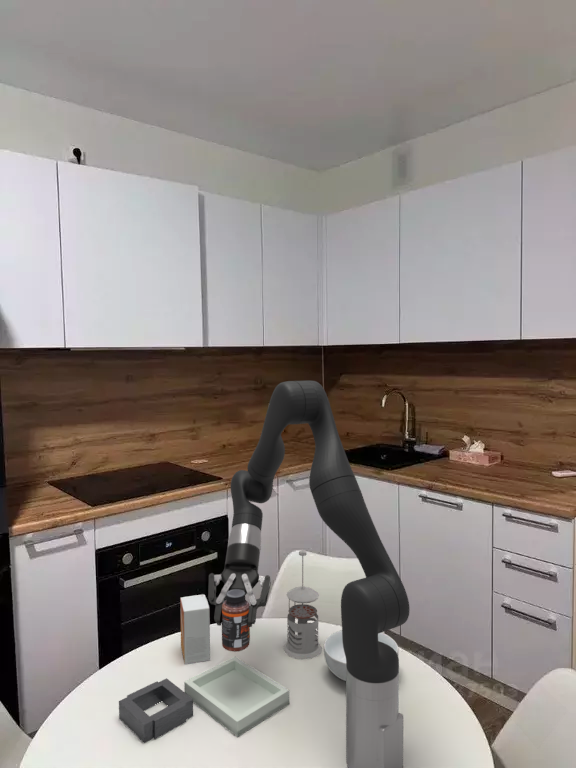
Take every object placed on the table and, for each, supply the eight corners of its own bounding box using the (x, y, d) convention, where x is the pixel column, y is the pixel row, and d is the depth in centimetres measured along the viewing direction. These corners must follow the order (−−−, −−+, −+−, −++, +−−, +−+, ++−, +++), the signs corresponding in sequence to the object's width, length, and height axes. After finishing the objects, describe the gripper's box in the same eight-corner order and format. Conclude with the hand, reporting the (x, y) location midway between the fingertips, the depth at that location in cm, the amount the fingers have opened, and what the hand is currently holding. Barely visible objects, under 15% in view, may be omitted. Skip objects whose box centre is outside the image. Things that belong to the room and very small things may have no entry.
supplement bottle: (245, 654, 109) (245, 600, 108) (217, 651, 110) (217, 598, 109) (253, 639, 114) (252, 588, 114) (226, 636, 116) (226, 586, 115)
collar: (194, 717, 107) (194, 700, 107) (145, 744, 99) (145, 726, 99) (165, 693, 115) (165, 677, 114) (117, 716, 107) (117, 699, 107)
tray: (289, 704, 111) (289, 690, 111) (237, 737, 101) (237, 721, 101) (235, 669, 124) (235, 656, 124) (184, 695, 114) (184, 681, 114)
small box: (180, 647, 133) (179, 596, 133) (205, 643, 135) (205, 593, 134) (183, 665, 125) (183, 611, 125) (210, 660, 127) (210, 607, 127)
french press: (292, 663, 126) (292, 559, 125) (274, 639, 137) (274, 544, 136) (329, 653, 130) (329, 553, 129) (308, 632, 141) (308, 539, 140)
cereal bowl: (374, 649, 132) (374, 621, 132) (413, 687, 117) (413, 655, 116) (312, 663, 126) (312, 634, 126) (344, 705, 110) (344, 672, 110)
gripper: (210, 540, 119) (196, 617, 108) (273, 542, 118) (266, 620, 107) (215, 555, 125) (203, 629, 113) (276, 557, 123) (270, 632, 112)
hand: (234, 624), depth 110 cm, fingers closed on supplement bottle, 6 cm apart
